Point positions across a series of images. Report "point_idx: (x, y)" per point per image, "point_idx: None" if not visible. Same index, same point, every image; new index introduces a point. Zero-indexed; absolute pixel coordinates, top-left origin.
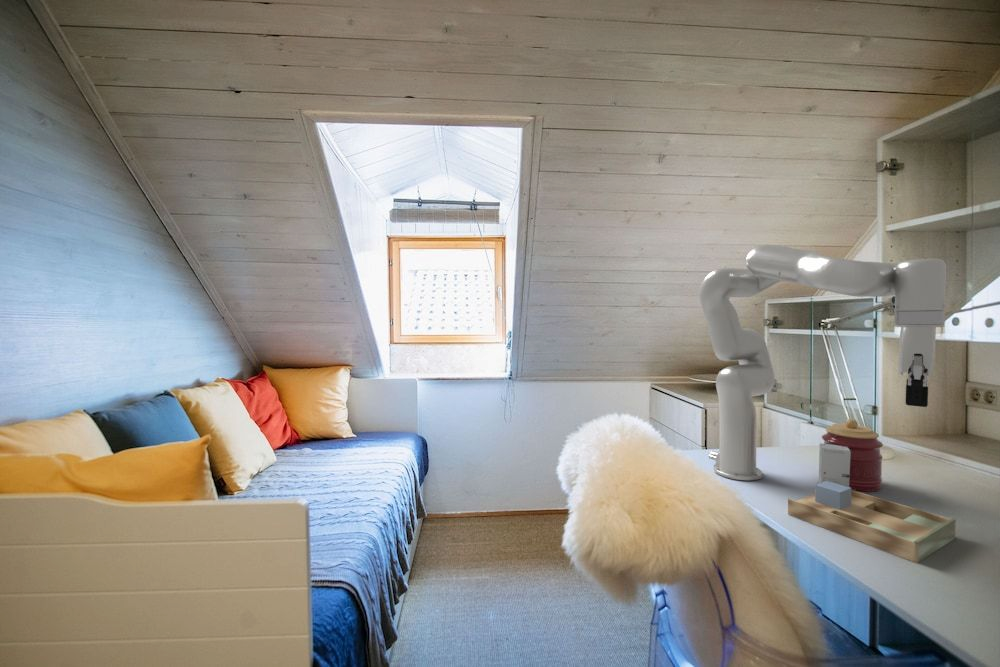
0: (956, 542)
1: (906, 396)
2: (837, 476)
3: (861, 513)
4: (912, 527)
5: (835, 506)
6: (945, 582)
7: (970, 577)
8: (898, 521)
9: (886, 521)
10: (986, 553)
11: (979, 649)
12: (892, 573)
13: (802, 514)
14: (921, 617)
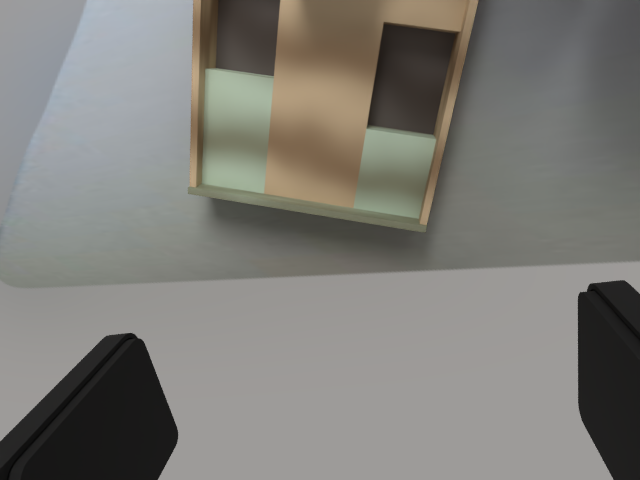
0: None
1: (66, 383)
2: None
3: (321, 34)
4: (326, 156)
5: None
6: (169, 227)
7: (230, 254)
8: (342, 123)
9: (315, 101)
10: (378, 266)
11: (11, 278)
12: (118, 156)
13: None
14: (16, 217)
